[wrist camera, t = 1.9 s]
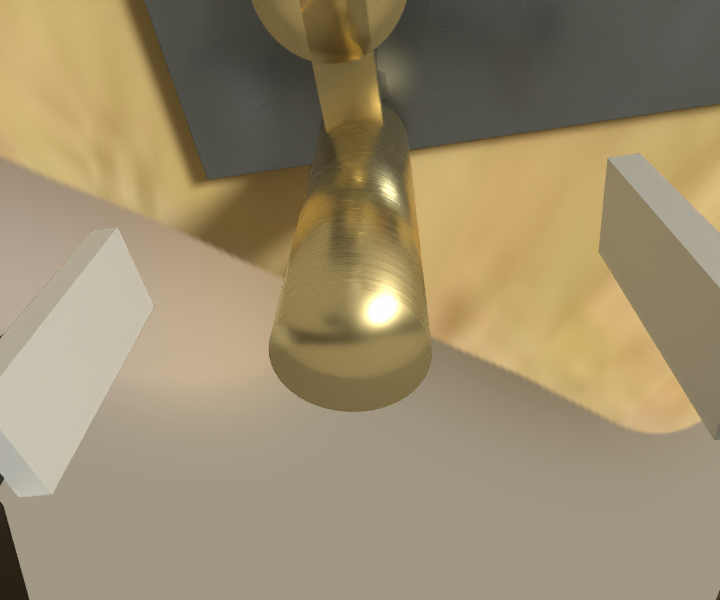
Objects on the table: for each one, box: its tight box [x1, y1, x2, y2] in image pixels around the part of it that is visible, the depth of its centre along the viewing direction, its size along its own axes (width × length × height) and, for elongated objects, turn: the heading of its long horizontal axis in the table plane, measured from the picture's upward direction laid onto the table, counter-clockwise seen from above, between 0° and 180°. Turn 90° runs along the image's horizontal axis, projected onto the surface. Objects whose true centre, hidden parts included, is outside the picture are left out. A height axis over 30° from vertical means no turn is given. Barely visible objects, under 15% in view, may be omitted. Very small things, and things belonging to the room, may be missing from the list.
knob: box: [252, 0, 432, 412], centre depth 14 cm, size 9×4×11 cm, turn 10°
